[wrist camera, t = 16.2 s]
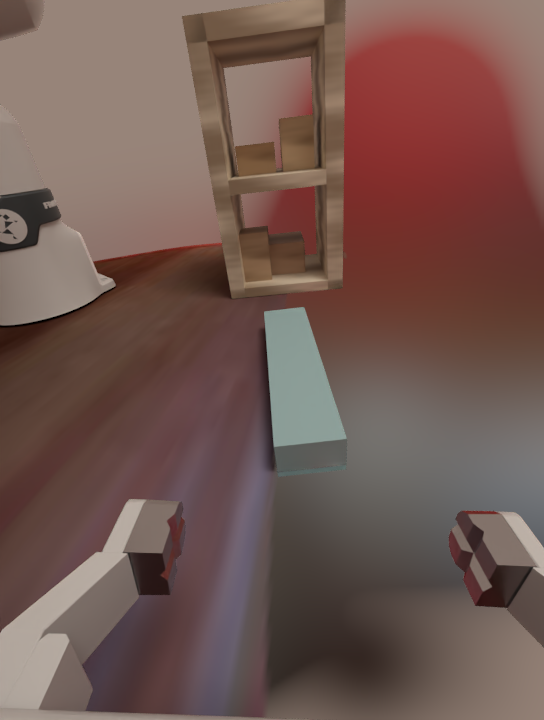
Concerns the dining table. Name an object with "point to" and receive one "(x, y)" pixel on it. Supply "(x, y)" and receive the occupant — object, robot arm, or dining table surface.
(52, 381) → the dining table surface
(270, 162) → the rack
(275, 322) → the plank
